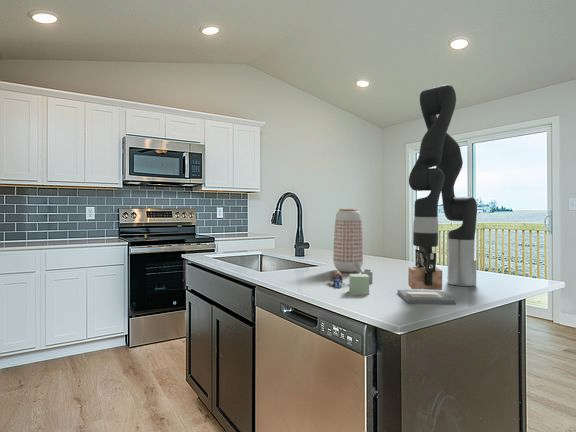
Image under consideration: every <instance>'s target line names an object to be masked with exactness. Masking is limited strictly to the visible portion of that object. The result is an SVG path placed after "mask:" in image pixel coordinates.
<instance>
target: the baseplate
mask: <svg viewBox="0 0 576 432" xmlns="http://www.w3.org/2000/svg"><path fill="white" fill-rule="evenodd" d="M397 295H398V296H399V297H401V298H402V299H403V300H404V301H405V302H406V303H408V304H418V305H419V304H422V305H425V304H426V305H456V304H457V303H456V299H454V298H452V297H451V296H450V295H448V294H446V293H445V292H443V291H442V290H425V289H397Z"/></svg>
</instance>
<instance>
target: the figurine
mask: <svg viewBox="0 0 576 432" xmlns="http://www.w3.org/2000/svg"><path fill="white" fill-rule="evenodd" d="M329 279H330V281H331V282H330V285H334V288H335V289H341V288H342V285H343V286H344V285H346V282H344V281H343V279H344V276H343V272H339V271H338V270H337V269H336V270H332V271H331V273H330V276H329Z"/></svg>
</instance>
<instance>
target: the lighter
mask: <svg viewBox="0 0 576 432" xmlns="http://www.w3.org/2000/svg"><path fill="white" fill-rule="evenodd" d="M354 265H355V267H356V269H357V272H356V273H357V274H367V275H368V276H369V284H373V275H374V274H373V272H374V271H371V269H370V268H365V269H363V270H362V269H361V268H362V267H361V268H360V266H359V264H358V262H355V263H354Z"/></svg>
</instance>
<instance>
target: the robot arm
mask: <svg viewBox="0 0 576 432" xmlns="http://www.w3.org/2000/svg"><path fill="white" fill-rule="evenodd" d="M456 94H457V93H456V90H455V88H454V87H453V85H451V84H442V85H439V86H435V87H431V88H427V89H424V90H422V91H421V92H420V94H419V105H420V110H421V113H422V117H423V120H424V124H425V127H426V129H427V131H426V132H425V134H424V135H423V137H422V140H421V143H420V148H419V154H418V158H417V160H416V162H415V163H414V165H413V167H412V169H411V171H410V173H409V176H408V185H409V187H410V188H411V190H413V191H414V192H415V191H416V192H417V191H418V192H421V191H422V192H423V191H424V192H425V191H430V192H429V194H428V195H427V196H425V197H420V198H417V199H416V200H415V201H414V207H413V208H414V214H413V215H414V218H413V224H412V245H413V246H415V247H418V248H415V250H414V251H415V255H414V256H415V264H414V267H424V272H425V273H424V284H425V285H426V286H431V285H432V274H433V272H435V271H436V268H437V264H436V263H437V253H435V252H433V248H436V247H438V246H439V220H438V217H439V216H438V215H439V213H438V210H439V208H438V207H439V202H440V201H439V200H440V196H441V199H442V209H443V213H444V216H445V218H446V220H448V221H452V222H453V221H454V222H462V223H461V225H460V226H459V227H457V228H456V229H452V230H449V232H448V235H447V238H448V239H447V277H446V278H447V284H448V285H452V286H459V287H460V286H462V287H473V286H476V285H477V263H478V262H477V259H475V243H476V242H475V237H476V231H477V215H478V203H477V201H476V199H475V198H474V197H473V196H456V195H455V184H456V181H457V179H458V177H459V175H460V174H461V171H462V168H463V164H464V163H463V161H464V160H463V157H462V156H463V155H462V151H461V147H460V145H459V143H458V142H457V141H456V140H455V138H453V136H451V135H450V134H449V133H448V132H447V131H448V129H449V127H450V124H451V121H452V117H453V115H454V112H455V109H456V106H457V105H456V103H457V95H456ZM437 115H438V116H437Z"/></svg>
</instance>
